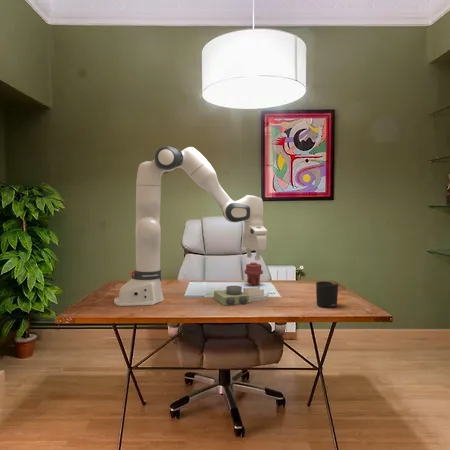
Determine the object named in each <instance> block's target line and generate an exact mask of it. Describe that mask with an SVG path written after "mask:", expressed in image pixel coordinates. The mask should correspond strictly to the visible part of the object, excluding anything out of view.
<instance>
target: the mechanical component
mask: <svg viewBox="0 0 450 450" xmlns="http://www.w3.org/2000/svg"><path fill="white" fill-rule="evenodd" d="M263 273H264V271H263V269H262V264H259V263H257V262H253V261H252V262H250V263H247V264H245V270H244V274H245V275H246V276H247V279H246V280H247V281H246V283H247V284H249V287H256V286H255V285H259V286H260V283H261V282H260V281H261V275H262V274H263Z"/></svg>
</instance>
